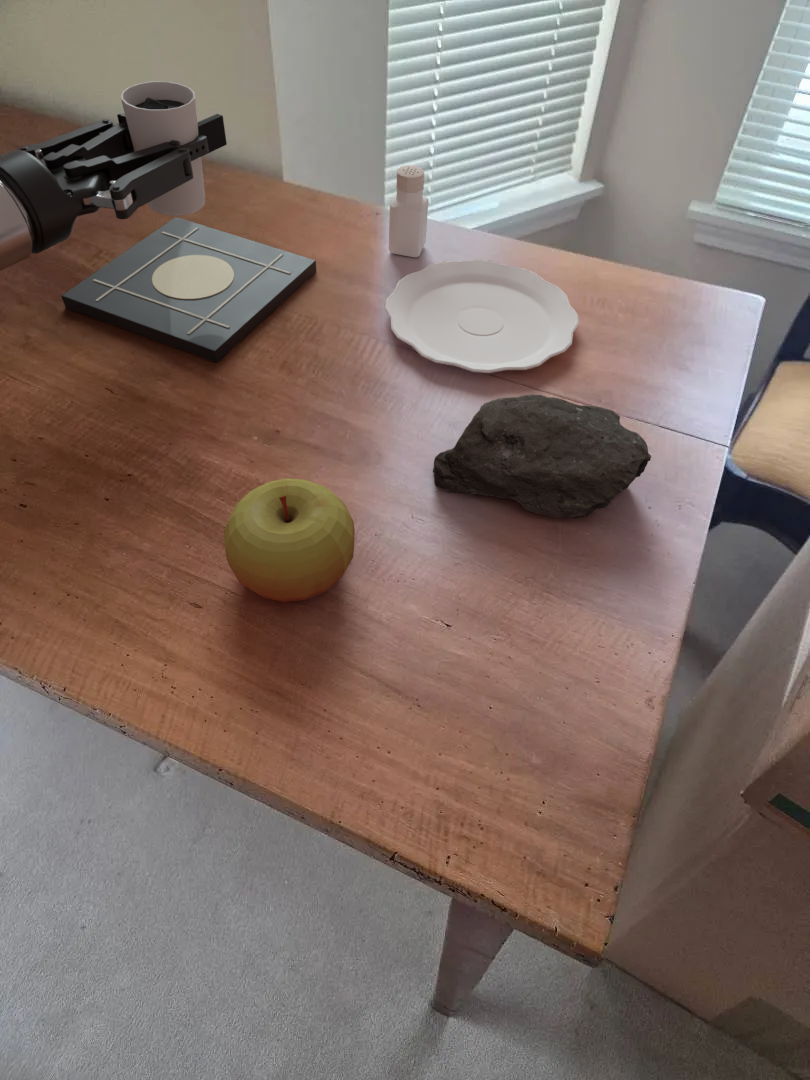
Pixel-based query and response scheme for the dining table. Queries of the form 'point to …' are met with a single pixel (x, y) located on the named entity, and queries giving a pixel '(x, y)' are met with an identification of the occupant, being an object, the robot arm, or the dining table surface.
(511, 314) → the plate
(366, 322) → the dining table surface
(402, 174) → the salt shaker
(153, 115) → the white cup
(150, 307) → the board
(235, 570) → the apple
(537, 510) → the stone
